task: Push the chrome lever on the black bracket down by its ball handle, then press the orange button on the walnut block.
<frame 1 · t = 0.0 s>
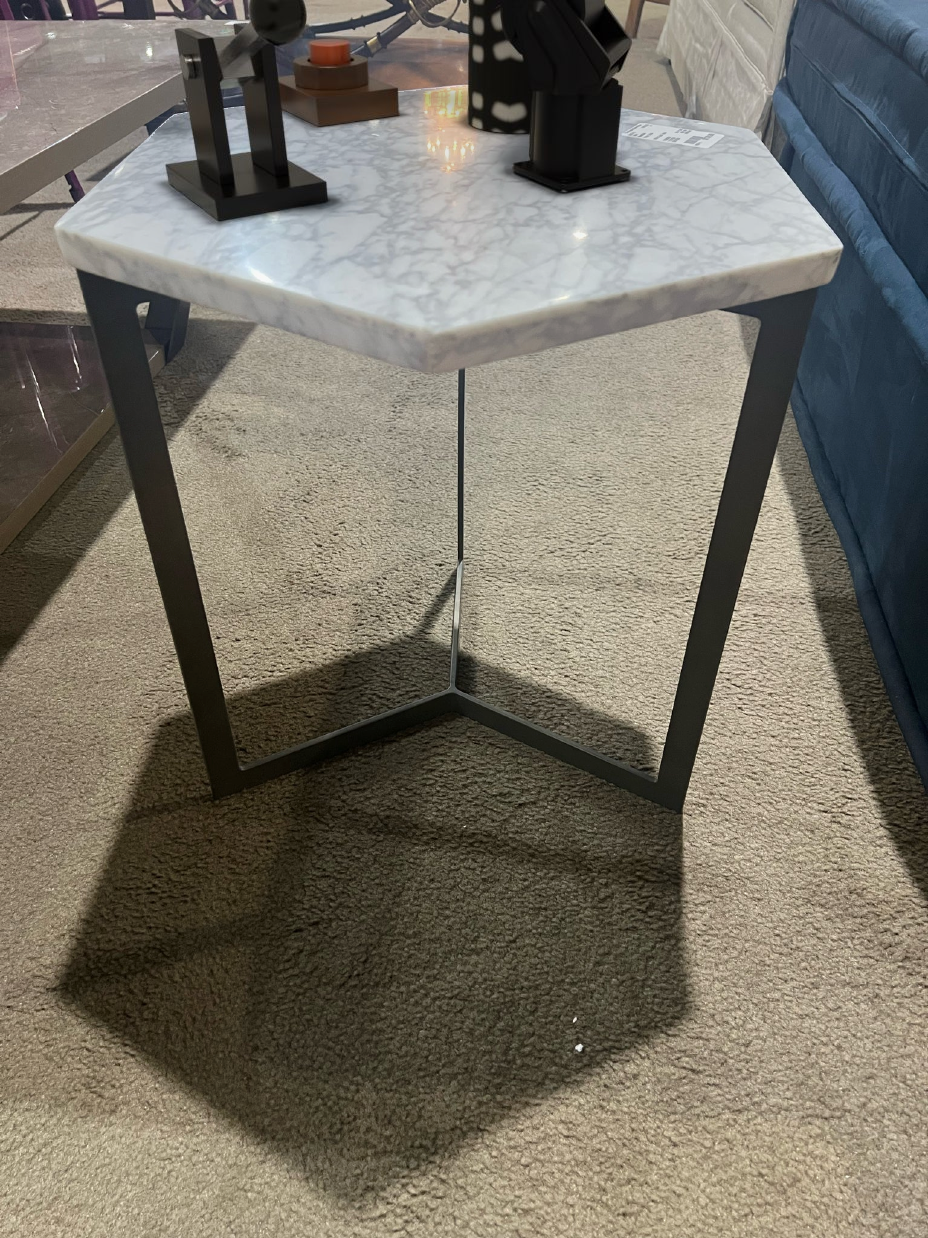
spotted black cylinder: (515, 123, 82), on the table
lever: (251, 38, 56), point 10 cm above the table, hinge at 22.0°
button: (330, 53, 82), point 4 cm above the table, slide at 0.1 cm
bracket: (246, 191, 66), on the table
button block: (334, 109, 85), on the table
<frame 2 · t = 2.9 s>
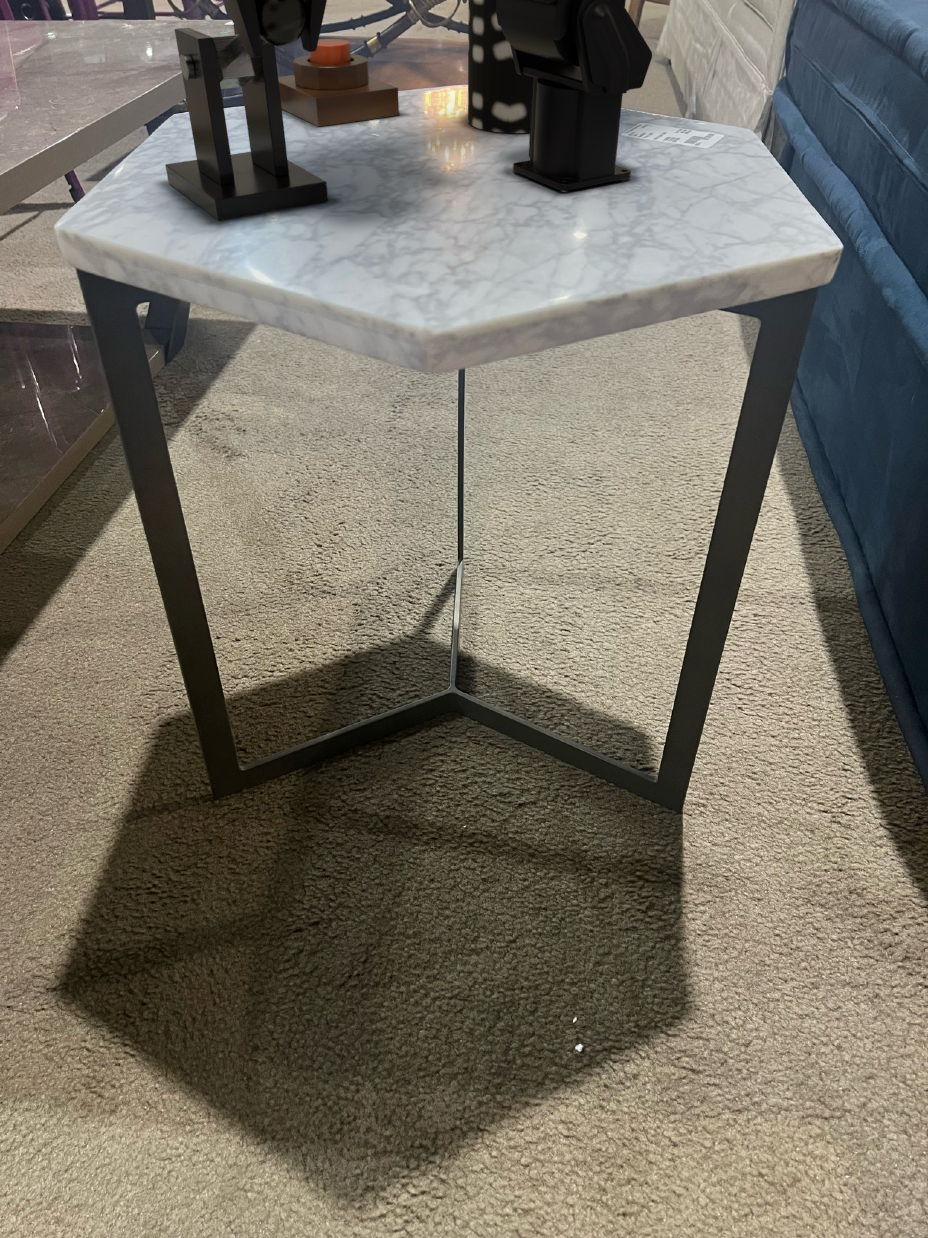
hand: (282, 53, 53), 10 cm above the table, tool pointing down, fingers closed on lever, 3 cm apart
lever: (251, 38, 56), point 10 cm above the table, hinge at 22.0°, touching gripper
everything else where it was.
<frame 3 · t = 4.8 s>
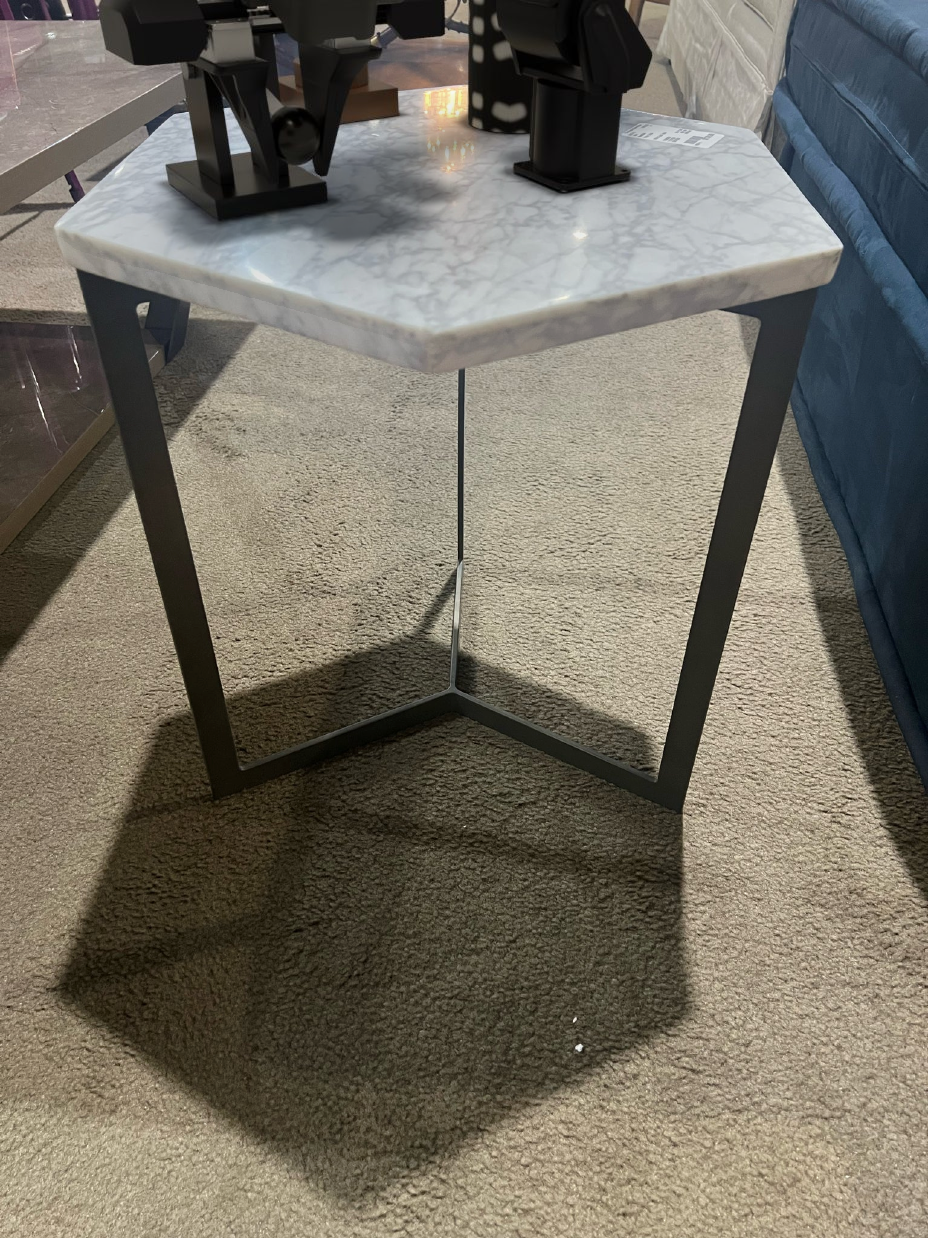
hand: (297, 178, 58), 3 cm above the table, tool pointing down, fingers closed on lever, 3 cm apart
lever: (260, 98, 58), point 7 cm above the table, hinge at -14.3°, touching gripper
everything else where it was.
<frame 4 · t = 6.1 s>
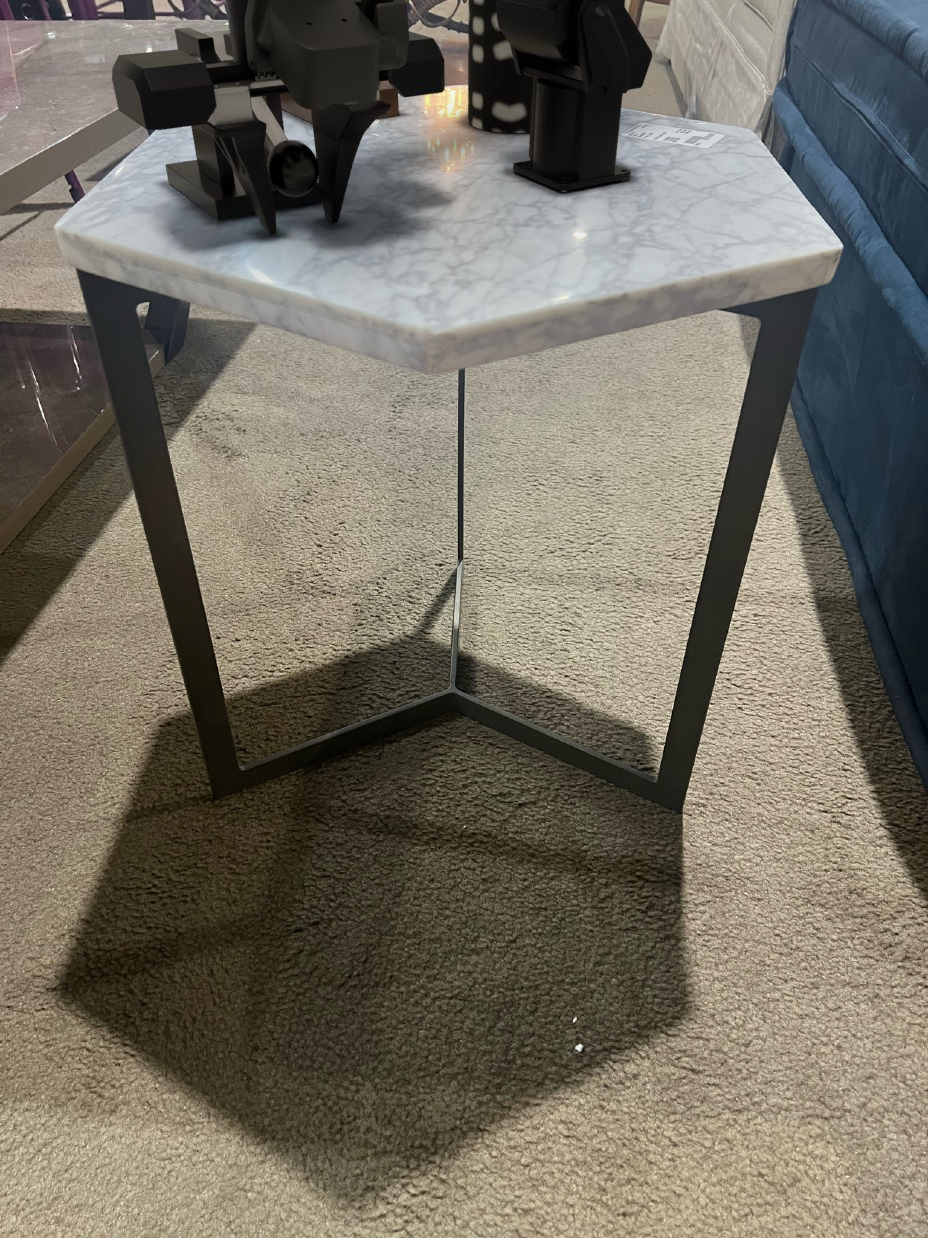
hand: (301, 227, 60), 0 cm above the table, tool pointing down, fingers open, 4 cm apart
lever: (260, 115, 59), point 6 cm above the table, hinge at -26.6°
everything else where it was.
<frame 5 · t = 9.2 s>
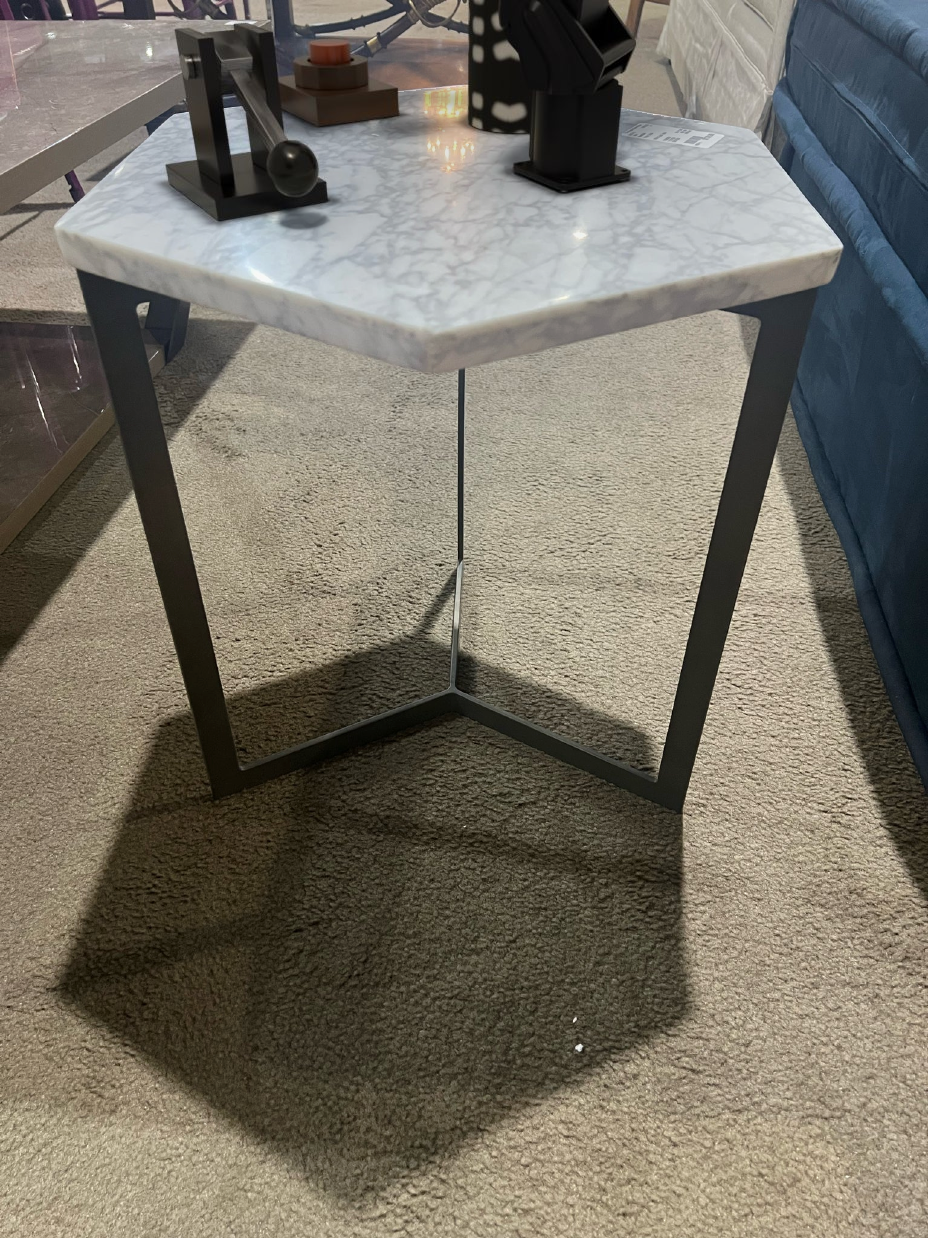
nothing on the table moved.
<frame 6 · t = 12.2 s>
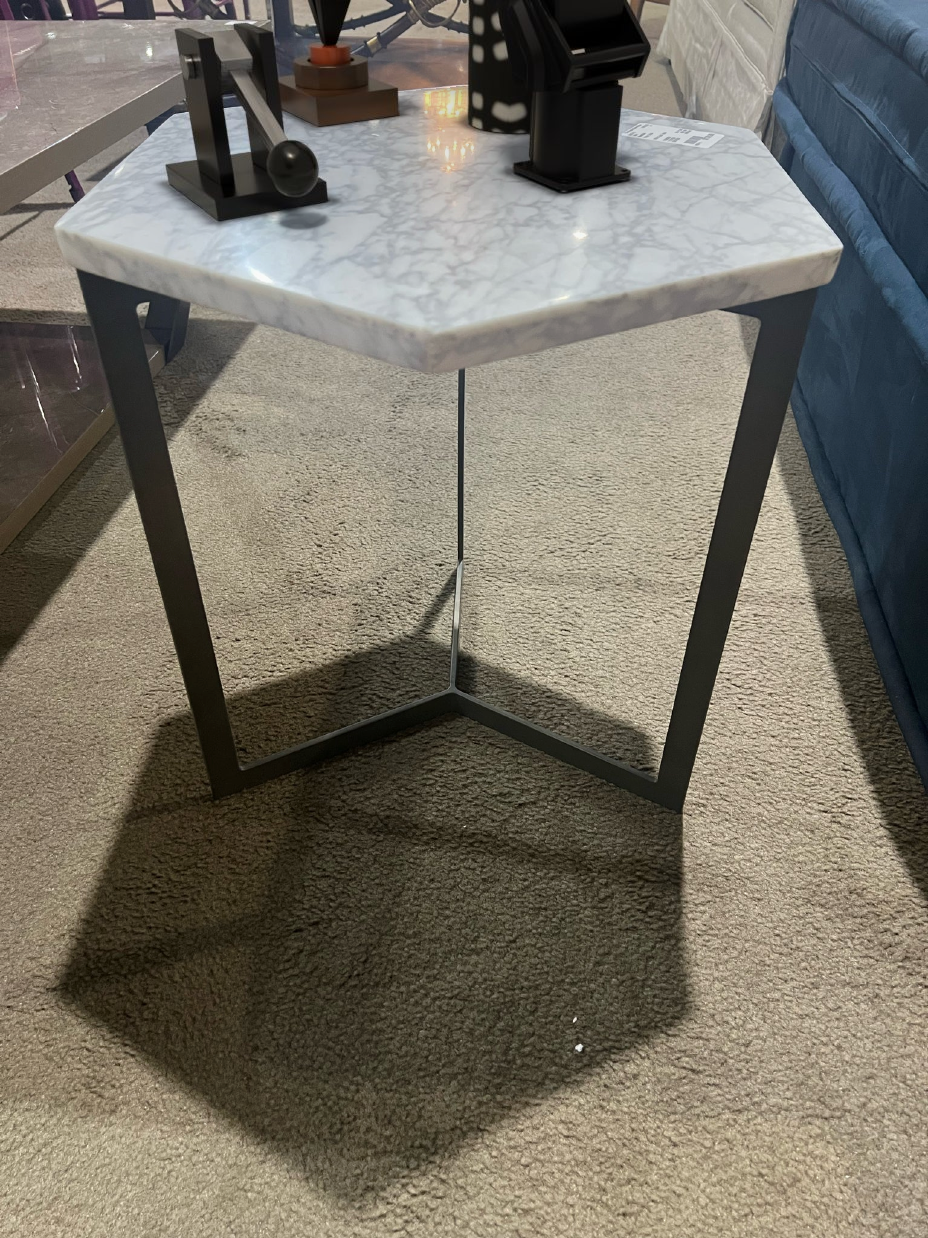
hand: (329, 44, 81), 5 cm above the table, tool pointing down, fingers closed, pressing on button
button: (330, 55, 82), point 4 cm above the table, slide at -0.1 cm, touching gripper
everything else where it was.
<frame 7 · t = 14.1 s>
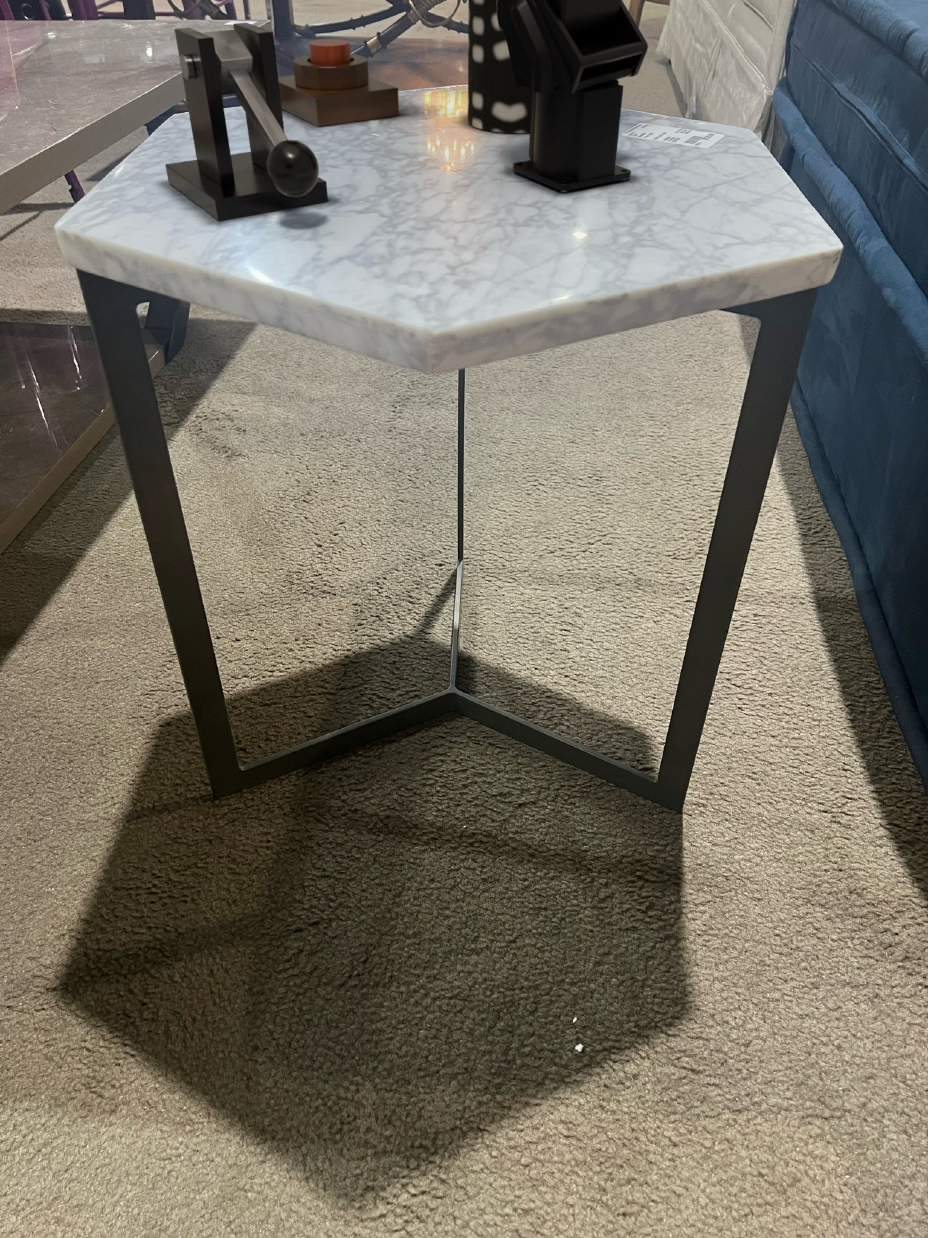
button: (330, 53, 82), point 4 cm above the table, slide at 0.1 cm
everything else where it was.
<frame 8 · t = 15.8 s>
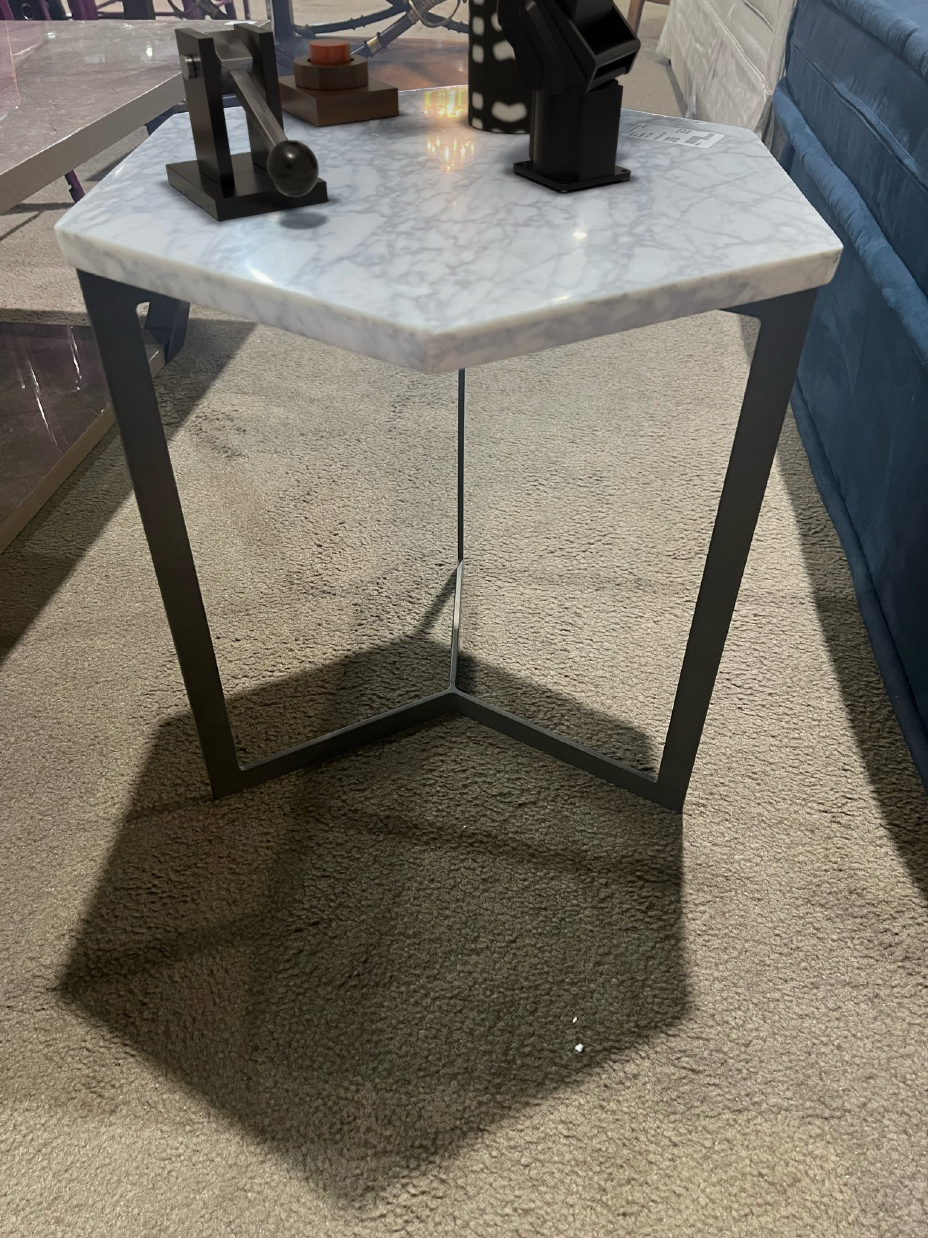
nothing on the table moved.
at the end: lever at -27° (first picture: +22°); button pushed in 1.1 cm at the most during the clip, back to where it started at the end; button slide at 0.1 cm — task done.
